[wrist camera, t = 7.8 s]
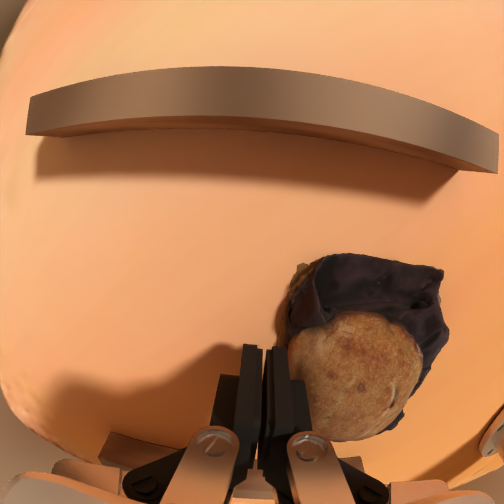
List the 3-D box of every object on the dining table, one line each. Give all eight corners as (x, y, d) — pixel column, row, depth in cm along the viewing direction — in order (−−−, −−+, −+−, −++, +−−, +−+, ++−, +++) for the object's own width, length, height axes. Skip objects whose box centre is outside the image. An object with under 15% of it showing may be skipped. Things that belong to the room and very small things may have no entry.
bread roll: (391, 418, 14) (408, 461, 10) (258, 425, 14) (256, 476, 10) (453, 258, 11) (501, 288, 7) (280, 244, 11) (287, 280, 7)
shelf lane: (461, 136, 9) (498, 134, 6) (353, 466, 15) (359, 493, 12) (67, 105, 9) (30, 97, 7) (116, 443, 15) (104, 467, 12)
